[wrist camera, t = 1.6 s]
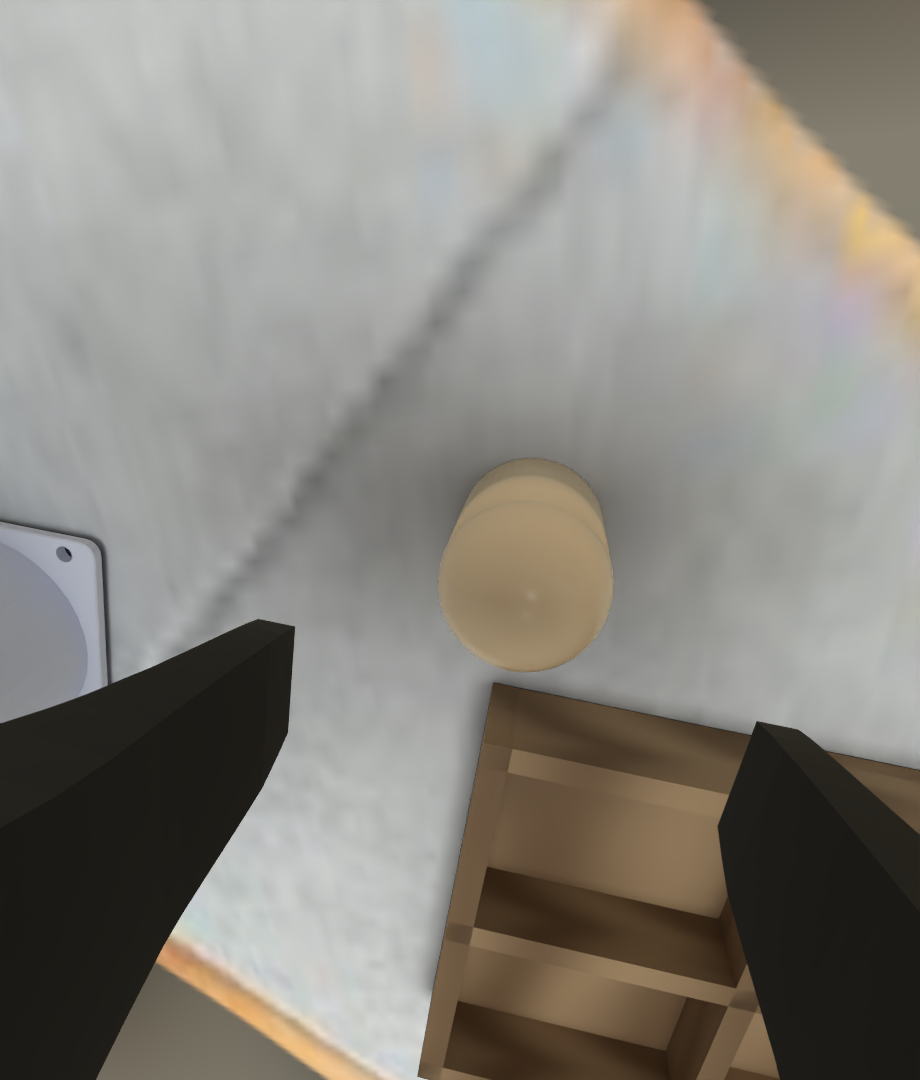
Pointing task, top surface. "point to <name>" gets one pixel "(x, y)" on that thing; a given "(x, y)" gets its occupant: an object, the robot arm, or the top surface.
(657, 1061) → the crate
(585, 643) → the cylinder
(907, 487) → the top surface
